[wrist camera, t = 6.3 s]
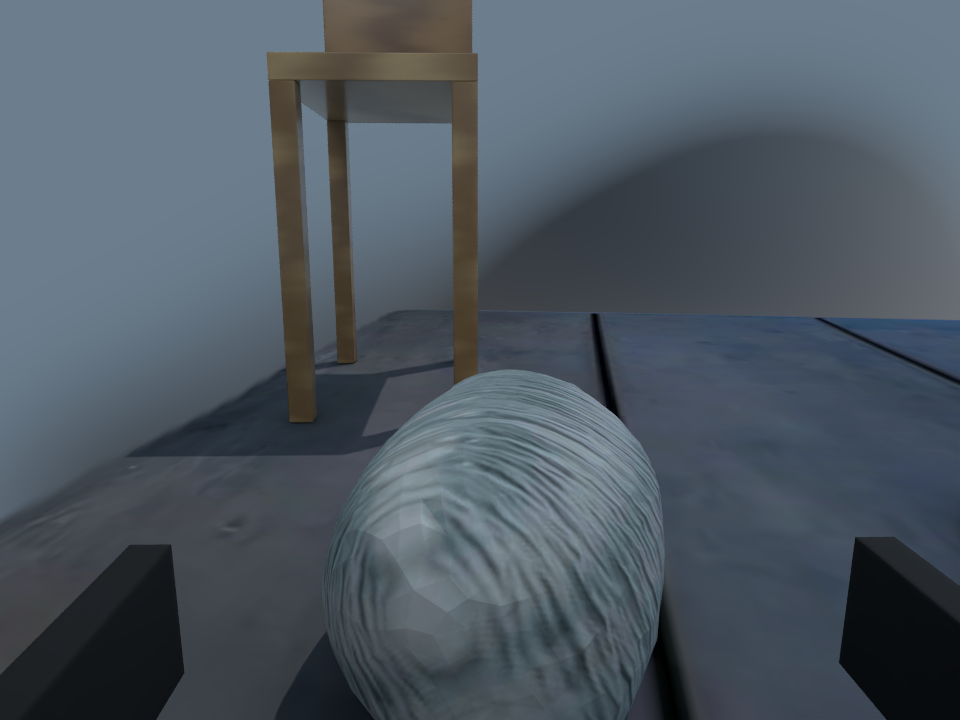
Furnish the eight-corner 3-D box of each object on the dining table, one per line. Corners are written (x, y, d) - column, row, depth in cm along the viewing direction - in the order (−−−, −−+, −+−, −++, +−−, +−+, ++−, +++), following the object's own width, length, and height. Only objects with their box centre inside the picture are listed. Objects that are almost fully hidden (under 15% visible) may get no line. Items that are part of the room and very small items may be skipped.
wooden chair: (289, 422, 43) (234, -472, 33) (340, 359, 62) (314, -227, 52) (477, 421, 43) (477, -465, 34) (472, 359, 62) (471, -224, 52)
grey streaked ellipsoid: (451, 550, 29) (320, 364, 25) (662, 464, 27) (556, 246, 23) (428, 939, 17) (162, 691, 13) (814, 833, 15) (640, 500, 11)
